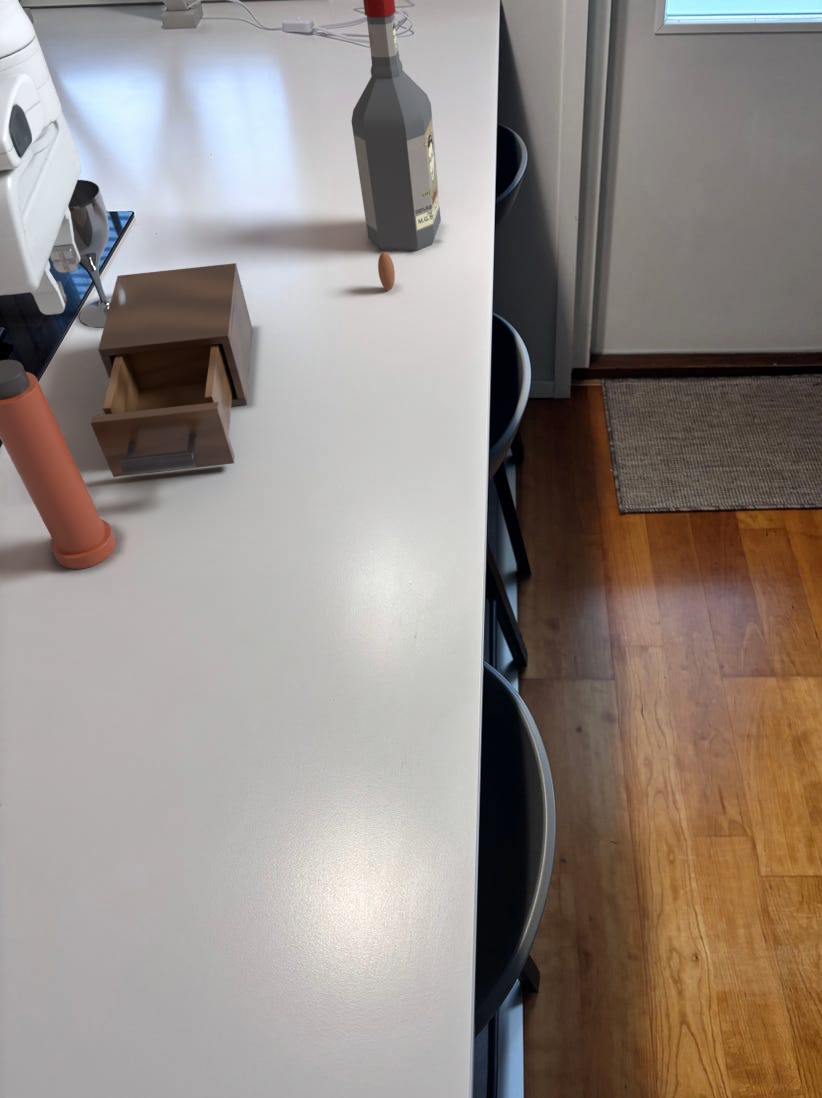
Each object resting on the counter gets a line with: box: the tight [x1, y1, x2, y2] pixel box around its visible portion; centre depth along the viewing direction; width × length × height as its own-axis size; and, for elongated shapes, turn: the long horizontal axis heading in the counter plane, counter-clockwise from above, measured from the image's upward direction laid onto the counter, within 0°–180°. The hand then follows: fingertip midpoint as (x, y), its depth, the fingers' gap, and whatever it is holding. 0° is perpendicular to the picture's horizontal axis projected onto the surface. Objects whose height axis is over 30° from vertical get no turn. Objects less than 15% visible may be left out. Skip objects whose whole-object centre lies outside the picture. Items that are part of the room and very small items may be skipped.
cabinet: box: [97, 262, 254, 407], centre depth 112 cm, size 16×14×9 cm
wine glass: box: [68, 179, 112, 328], centre depth 120 cm, size 8×8×15 cm
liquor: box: [350, 0, 442, 252], centre depth 124 cm, size 9×9×30 cm
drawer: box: [89, 344, 236, 478], centre depth 103 cm, size 19×12×7 cm, turn 6°
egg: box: [377, 251, 396, 291], centre depth 124 cm, size 2×2×5 cm
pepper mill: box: [0, 359, 117, 570], centre depth 89 cm, size 6×6×20 cm
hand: (62, 288), depth 75 cm, fingers open, 5 cm apart
